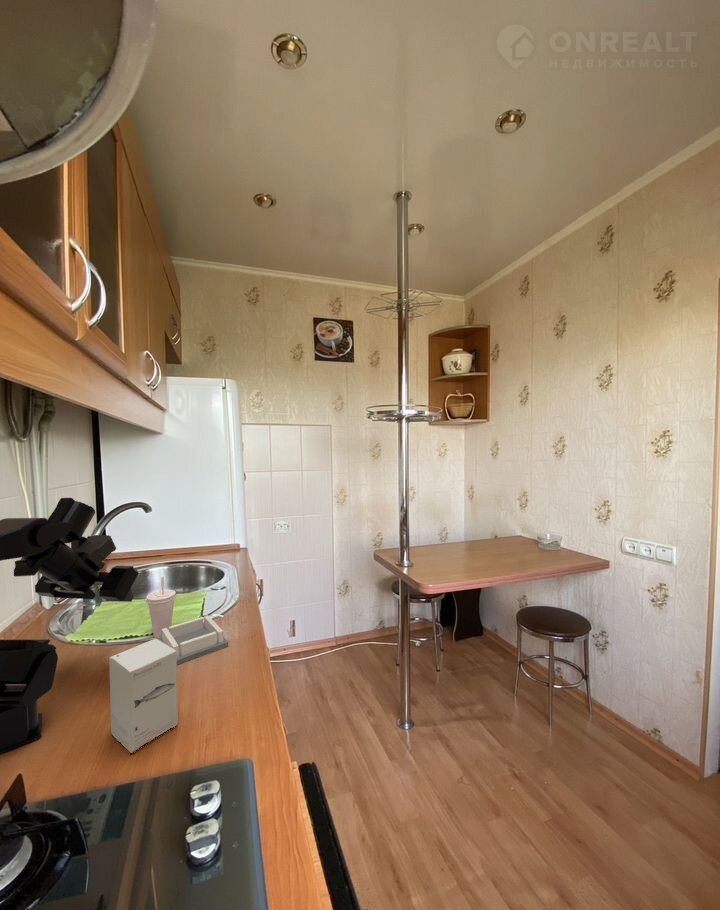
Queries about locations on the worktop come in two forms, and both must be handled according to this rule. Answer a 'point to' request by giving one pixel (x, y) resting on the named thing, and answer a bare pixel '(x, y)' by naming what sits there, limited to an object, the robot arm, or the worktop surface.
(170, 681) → the supplement box
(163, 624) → the smoothie
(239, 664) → the worktop surface
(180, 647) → the bottle holder
